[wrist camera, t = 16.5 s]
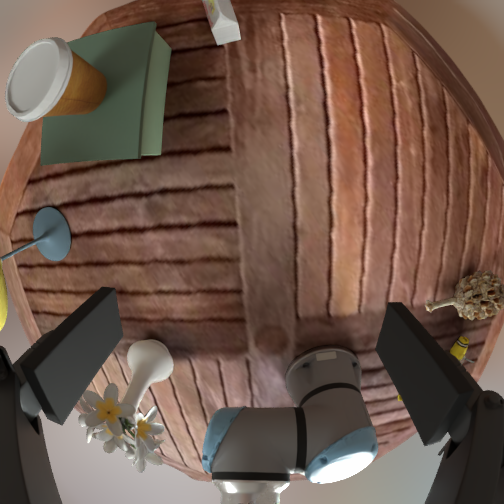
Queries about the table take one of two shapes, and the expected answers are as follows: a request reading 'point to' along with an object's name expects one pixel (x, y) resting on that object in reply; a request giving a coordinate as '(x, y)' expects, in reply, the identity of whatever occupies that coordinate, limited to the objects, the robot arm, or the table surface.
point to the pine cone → (475, 296)
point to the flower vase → (130, 406)
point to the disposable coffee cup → (53, 82)
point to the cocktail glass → (41, 246)
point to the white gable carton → (222, 20)
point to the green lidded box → (115, 100)
